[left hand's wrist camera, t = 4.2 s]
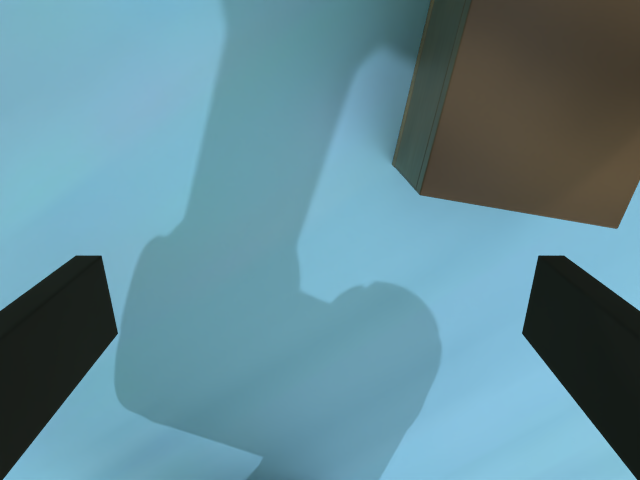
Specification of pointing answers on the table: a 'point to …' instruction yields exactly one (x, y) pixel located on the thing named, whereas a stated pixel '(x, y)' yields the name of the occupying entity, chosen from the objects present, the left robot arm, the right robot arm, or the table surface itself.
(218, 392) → the table surface
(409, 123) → the brown block
